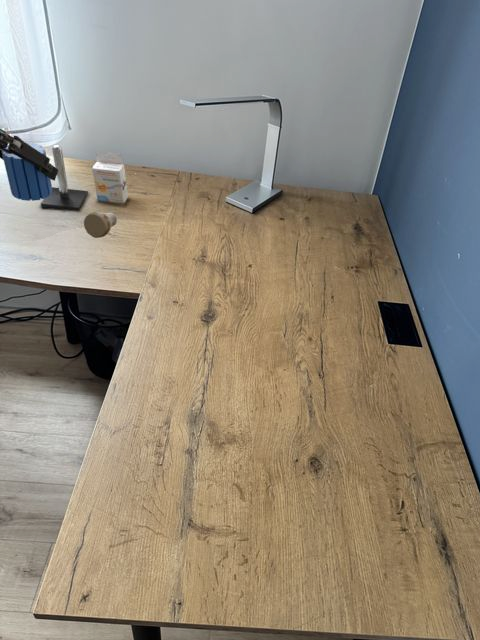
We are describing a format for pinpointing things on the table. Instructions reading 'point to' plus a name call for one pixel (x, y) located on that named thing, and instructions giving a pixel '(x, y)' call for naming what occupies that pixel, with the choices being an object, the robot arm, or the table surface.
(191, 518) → the table surface
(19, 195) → the blue ribbed pencil cup
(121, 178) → the ink box
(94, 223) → the mug
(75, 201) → the stand
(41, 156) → the robot arm
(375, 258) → the table surface
